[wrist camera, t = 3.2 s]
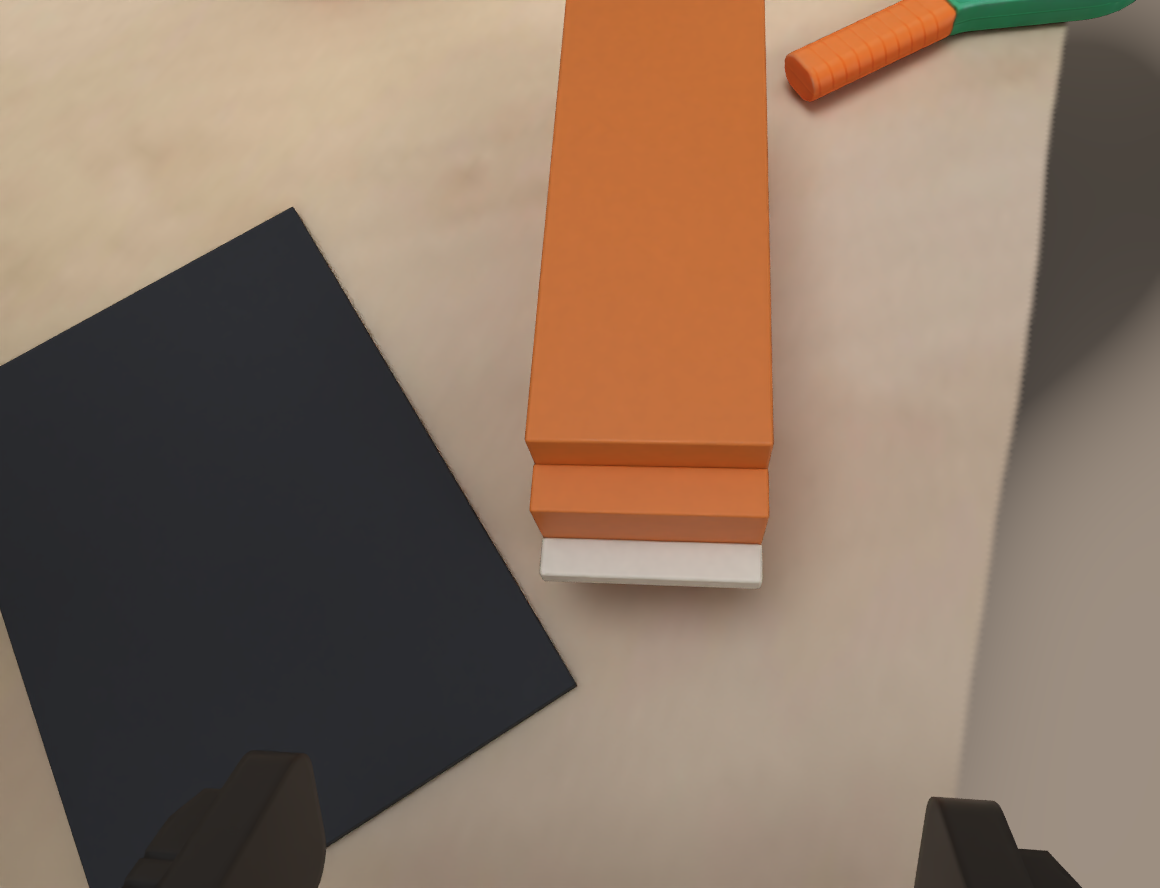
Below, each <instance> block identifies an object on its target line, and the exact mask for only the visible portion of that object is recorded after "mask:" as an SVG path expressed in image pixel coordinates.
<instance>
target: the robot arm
mask: <svg viewBox="0 0 1160 888" xmlns="http://www.w3.org/2000/svg"><path fill="white" fill-rule="evenodd" d="M325 855H326V838H325V831H324V826H323V820H322V815H321V810H320V804H319V799H318V793H317V788H316V782H315V777H314V771H313V766H312V762H311V760H310V758H309V756H308V755H307V754H304V753H292V752H276V751H261V750H251V751H249V752H247V753H246V754H245V755H244V756H243V757H242V759H241V760H240V761H239V763H238V764H237V766H236V767H235V769H234V770H233V772H232V773H231V775H230V776H229V778H228V779H227V781H226V782H225V784H224V785H223V787H222V788H221V789H213V788H204V789H203V790H202V791H201V792H199V793H198V794H197V795H196V796H194V797H193V798H192V799H191V800H189V801H188V802H187V803H186V804H184V805H183V806H182V807H181V808H179V809H178V810H177V811H176V812H174V813H173V814H172V815H171V816H170V817H169V818H168V819H167V821H166V822H165V823H164V825H163V826H162V828H161V829H160V830H159V832H158V833H157V835H156V836H155V837H154V839H153V840H152V842H151V843H150V844H149V846H148V847H147V849H146V850H145V855H144V857H143V858H140V859H139V860H138V861H137V863H136V864H135V866H134V867H133V868H132V870H131V871H130V873H129V874H128V875H127V877H126V878H125V880H124V885H123V887H122V888H318V886H319V883H320V880H321V876H322V873H323V868H324V863H325ZM119 888H121V887H119ZM914 888H1082V887H1081V886H1080V885H1079V884H1078V883H1077V882H1076V881H1075V880H1074V879H1073V878H1072V877H1071V875H1070V874H1068V872H1067V871H1066V870H1065V869H1064V868H1063V867H1062V866H1061V865H1060V864H1059V863H1058V862H1057V861H1056V860H1055V858H1054V857H1052V855H1051V854H1050V853H1049V852H1048V851H1041V850H1028V849H1018V848H1017V845H1016V843H1015V840H1014V838H1013V835H1012V833H1011V831H1010V829H1009V826H1008V823H1007V821H1006V818H1005V816H1004V814H1003V811H1002V810H1001V808H1000V806H999V805H998V804H997V803H996V802H995V801H987V800H972V799H958V798H943V797H931V798H930V799H929V801H928V804H927V808H926V813H925V820H924V826H923V833H922V839H921V846H920V852H919V859H918V865H917V871H916V878H915V885H914Z"/></svg>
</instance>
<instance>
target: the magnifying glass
mask: <svg viewBox="0 0 1160 888" xmlns="http://www.w3.org/2000/svg"><path fill="white" fill-rule="evenodd" d="M1134 1H1136V0H902V1H900V2H898V3H896V4H894V5H892V6H889V7H887V8H885V9H883V10H881V11H879V12H877V13H874V14H872V15H870V16H868V17H866V18H864V19H862V20H859V21H857V22H856V23H853V24H851V25H849V26H847V27H845V28H843V29H841V30H838V31H836V32H834V33H832V34H830V35H828V36H825V37H823V38H821V39H819V40H817V41H815V42H813V43H810V44H808V45H806V46H804V47H802V48H800V49H798V50H795V51H793V52H791V53H790V54H788V55H787V56H786V58H785V72H786V77H787V79H788V81H789V83H790V85H791V86H792V87H793V88H794V90H795V91H796V92H797V93H798V94H799V95H800V96H801V98H803V99H804V100H806V101H809V102H811V101H814V100H816V99H818V98H820V97H822V96H825V95H827V94H829V93H830V92H833V91H835V90H837V89H839V88H841V87H843V86H845V85H847V84H850V83H852V82H854V81H855V80H857V79H860V78H862V77H864V76H866V75H868V74H870V73H873V72H875V71H877V70H879V69H880V68H882V67H885V66H887V65H889V64H891V63H893V62H895V61H897V60H899V59H902V58H904V57H906V56H907V55H910V54H912V53H914V52H916V51H918V50H920V49H922V48H925V47H927V46H929V45H931V44H933V43H935V42H937V41H939V40H942V39H944V38H946V37H947V36H948V35H955V34H958V33H962V32H966V31H975V30H985V29H995V28H1006V27H1016V26H1028V25H1038V24H1047V23H1057V22H1068V21H1078V20H1086V19H1092V18H1097V17H1101V16H1105V15H1108V14H1111V13H1114V12H1116V11H1119V10H1121V9H1123V8H1124V7H1126V6H1128V5H1130V4H1131V3H1133V2H1134Z"/></svg>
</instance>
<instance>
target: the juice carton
mask: <svg viewBox="0 0 1160 888" xmlns="http://www.w3.org/2000/svg"><path fill="white" fill-rule="evenodd" d="M525 442H526V444H527V446H528V449H529V451H530V453H531V456H532V458H533V460H534V463H535V465H534V466H533V476H532V488H531V499H530V512H531V514H532V516H533V518H534V520H535V522H536V524H537V526H538V528H539V530H540V532H541V533H542V535H543V537H544V538H543V540H542V548H541V560H540V575H541V577H542V579H543V580H545V581H558V582H585V583H612V584H640V585H667V586H694V587H721V588H748V589H758V588H760V586H761V583H762V546H761V543H762V540H763V536H764V533H765V529H766V526H767V522H768V519H769V474H768V465H769V461H770V457H771V452H772V448H773V444H774V437H773V388H772V339H771V290H770V241H769V192H768V143H767V94H766V45H765V0H566V6H565V17H564V28H563V38H562V49H561V59H560V70H559V81H558V91H557V102H556V112H555V123H554V134H553V144H552V155H551V166H550V176H549V187H548V197H547V208H546V219H545V229H544V240H543V250H542V261H541V272H540V282H539V293H538V303H537V314H536V325H535V335H534V346H533V357H532V367H531V378H530V388H529V399H528V410H527V420H526V431H525Z"/></svg>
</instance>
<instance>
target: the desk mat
mask: <svg viewBox="0 0 1160 888" xmlns="http://www.w3.org/2000/svg"><path fill="white" fill-rule="evenodd" d="M0 610H1V613H2V616H3V619H4V622H5V626H6V629H7V632H8V635H9V638H10V641H11V644H12V647H13V650H14V654H15V657H16V660H17V663H18V666H19V669H20V672H21V675H22V679H23V682H24V685H25V688H26V691H27V694H28V697H29V700H30V704H31V707H32V710H33V713H34V716H35V719H36V722H37V725H38V728H39V732H40V735H41V738H42V741H43V744H44V747H45V750H46V753H47V757H48V760H49V763H50V766H51V769H52V772H53V775H54V778H55V782H56V785H57V788H58V791H59V794H60V797H61V800H62V803H63V806H64V810H65V813H66V816H67V819H68V822H69V825H70V828H71V831H72V835H73V838H74V841H75V844H76V847H77V850H78V853H79V856H80V860H81V863H82V866H83V869H84V872H85V875H86V878H87V881H88V884H89V888H119V887H121V888H122V887H123V885H124V880H125V878H126V877H127V875H128V874H129V873H130V871H131V870H132V868H133V867H134V866H135V864H136V863H137V861H138V860H139V859H140V858H143V857H144V855H145V850H146V849H147V847H148V846H149V844H150V843H151V842H152V840H153V839H154V837H155V836H156V835H157V833H158V832H159V830H160V829H161V828H162V826H163V825H164V823H165V822H166V821H167V819H168V818H169V817H170V816H171V815H172V814H173V813H174V812H176V811H177V810H178V809H179V808H181V807H182V806H183V805H184V804H186V803H187V802H188V801H189V800H191V799H192V798H193V797H194V796H196V795H197V794H198V793H199V792H201V791H202V790H203V789H204V788H213V789H221V788H222V787H223V785H224V784H225V782H226V781H227V779H228V778H229V776H230V775H231V773H232V772H233V770H234V769H235V767H236V766H237V764H238V763H239V761H240V760H241V759H242V757H243V756H244V755H245V754H246V753H247V752H249V751H251V750H261V751H276V752H292V753H304V754H307V755H308V756H309V758H310V760H311V762H312V766H313V771H314V777H315V782H316V788H317V793H318V799H319V804H320V810H321V815H322V820H323V826H324V831H325V838H326V847H328V846H329V845H331V844H332V843H334V842H335V841H337V840H339V839H340V838H342V837H343V836H345V835H346V834H348V833H349V832H351V831H353V830H354V829H356V828H357V827H359V826H360V825H362V824H363V823H365V822H367V821H368V820H370V819H371V818H373V817H374V816H376V815H377V814H379V813H381V812H382V811H384V810H385V809H387V808H388V807H390V806H391V805H393V804H395V803H396V802H398V801H399V800H401V799H402V798H404V797H405V796H407V795H409V794H410V793H412V792H413V791H415V790H416V789H418V788H419V787H421V786H422V785H424V784H426V783H427V782H429V781H430V780H432V779H433V778H435V777H436V776H438V775H440V774H441V773H443V772H444V771H446V770H447V769H449V768H450V767H452V766H454V765H455V764H457V763H458V762H460V761H461V760H463V759H464V758H466V757H468V756H469V755H471V754H472V753H474V752H475V751H477V750H478V749H480V748H482V747H483V746H485V745H486V744H488V743H489V742H491V741H492V740H494V739H496V738H497V737H499V736H500V735H502V734H503V733H505V732H506V731H508V730H509V729H511V728H513V727H514V726H516V725H517V724H519V723H520V722H522V721H523V720H525V719H527V718H528V717H530V716H531V715H533V714H534V713H536V712H537V711H539V710H541V709H542V708H544V707H545V706H547V705H548V704H550V703H551V702H553V701H555V700H556V699H558V698H559V697H561V696H562V695H564V694H565V693H567V692H569V691H570V690H572V689H573V688H575V687H576V686H577V684H576V683H575V681H574V679H573V677H572V676H571V674H570V672H569V671H568V669H567V667H566V666H565V664H564V662H563V661H562V659H561V657H560V656H559V654H558V652H557V651H556V649H555V647H554V645H553V644H552V642H551V640H550V639H549V637H548V635H547V634H546V632H545V630H544V629H543V627H542V625H541V624H540V622H539V620H538V618H537V617H536V615H535V613H534V612H533V610H532V608H531V607H530V605H529V603H528V602H527V600H526V598H525V597H524V595H523V593H522V591H521V590H520V588H519V586H518V585H517V583H516V581H515V580H514V578H513V576H512V575H511V573H510V571H509V570H508V568H507V566H506V565H505V563H504V561H503V559H502V558H501V556H500V554H499V553H498V551H497V549H496V548H495V546H494V544H493V543H492V541H491V539H490V538H489V536H488V534H487V532H486V531H485V529H484V527H483V526H482V524H481V522H480V521H479V519H478V517H477V516H476V514H475V512H474V511H473V509H472V507H471V505H470V504H469V502H468V500H467V499H466V497H465V495H464V494H463V492H462V490H461V489H460V487H459V485H458V484H457V482H456V480H455V479H454V477H453V475H452V473H451V472H450V470H449V468H448V467H447V465H446V463H445V462H444V460H443V458H442V457H441V455H440V453H439V452H438V450H437V448H436V446H435V445H434V443H433V441H432V440H431V438H430V436H429V435H428V433H427V431H426V430H425V428H424V426H423V425H422V423H421V421H420V419H419V418H418V416H417V414H416V413H415V411H414V409H413V408H412V406H411V404H410V403H409V401H408V399H407V398H406V396H405V394H404V393H403V391H402V389H401V387H400V386H399V384H398V382H397V381H396V379H395V377H394V376H393V374H392V372H391V371H390V369H389V367H388V366H387V364H386V362H385V360H384V359H383V357H382V355H381V354H380V352H379V350H378V349H377V347H376V345H375V344H374V342H373V340H372V339H371V337H370V335H369V333H368V332H367V330H366V328H365V327H364V325H363V323H362V322H361V320H360V318H359V317H358V315H357V313H356V312H355V310H354V308H353V307H352V305H351V303H350V301H349V300H348V298H347V296H346V295H345V293H344V291H343V290H342V288H341V286H340V285H339V283H338V281H337V280H336V278H335V276H334V274H333V273H332V271H331V269H330V268H329V266H328V264H327V263H326V261H325V259H324V258H323V256H322V254H321V253H320V251H319V249H318V247H317V246H316V244H315V242H314V241H313V239H312V237H311V236H310V234H309V232H308V231H307V229H306V227H305V226H304V224H303V222H302V221H301V219H300V217H299V215H298V214H297V212H296V211H295V209H294V208H293V207H291V208H289V209H287V210H286V211H284V212H282V213H280V214H278V215H276V216H275V217H273V218H271V219H269V220H267V221H265V222H264V223H262V224H260V225H258V226H256V227H254V228H253V229H251V230H249V231H247V232H245V233H243V234H242V235H240V236H238V237H236V238H234V239H232V240H231V241H229V242H227V243H225V244H223V245H221V246H220V247H218V248H216V249H214V250H212V251H210V252H209V253H207V254H205V255H203V256H201V257H200V258H198V259H196V260H194V261H192V262H190V263H189V264H187V265H185V266H183V267H181V268H179V269H178V270H176V271H174V272H172V273H170V274H168V275H167V276H165V277H163V278H161V279H159V280H157V281H156V282H154V283H152V284H150V285H148V286H146V287H145V288H143V289H141V290H139V291H137V292H135V293H134V294H132V295H130V296H128V297H126V298H124V299H123V300H121V301H119V302H117V303H115V304H114V305H112V306H110V307H108V308H106V309H104V310H103V311H101V312H99V313H97V314H95V315H93V316H92V317H90V318H88V319H86V320H84V321H82V322H81V323H79V324H77V325H75V326H73V327H71V328H70V329H68V330H66V331H64V332H62V333H60V334H59V335H57V336H55V337H53V338H51V339H49V340H48V341H46V342H44V343H42V344H40V345H38V346H37V347H35V348H33V349H31V350H29V351H27V352H26V353H24V354H22V355H20V356H18V357H17V358H15V359H13V360H11V361H9V362H7V363H6V364H4V365H2V366H0Z"/></svg>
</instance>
